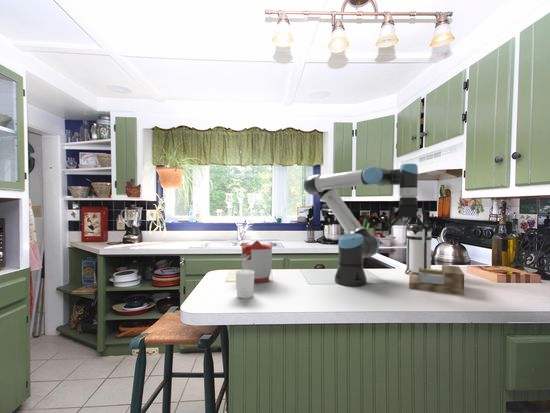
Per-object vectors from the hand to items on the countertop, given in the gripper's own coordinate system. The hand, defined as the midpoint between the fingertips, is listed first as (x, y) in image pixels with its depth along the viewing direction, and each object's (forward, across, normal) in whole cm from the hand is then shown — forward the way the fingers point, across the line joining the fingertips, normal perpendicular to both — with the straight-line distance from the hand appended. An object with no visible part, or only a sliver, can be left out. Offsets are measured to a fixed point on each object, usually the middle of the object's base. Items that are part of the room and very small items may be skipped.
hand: (407, 242), depth 130 cm
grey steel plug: (+17, +11, 0) cm, 20 cm away
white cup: (+21, -60, -46) cm, 79 cm away
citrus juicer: (+21, -68, -24) cm, 75 cm away
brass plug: (+17, +11, +11) cm, 23 cm away
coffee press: (+21, +6, +31) cm, 37 cm away
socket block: (+20, +12, +5) cm, 24 cm away
